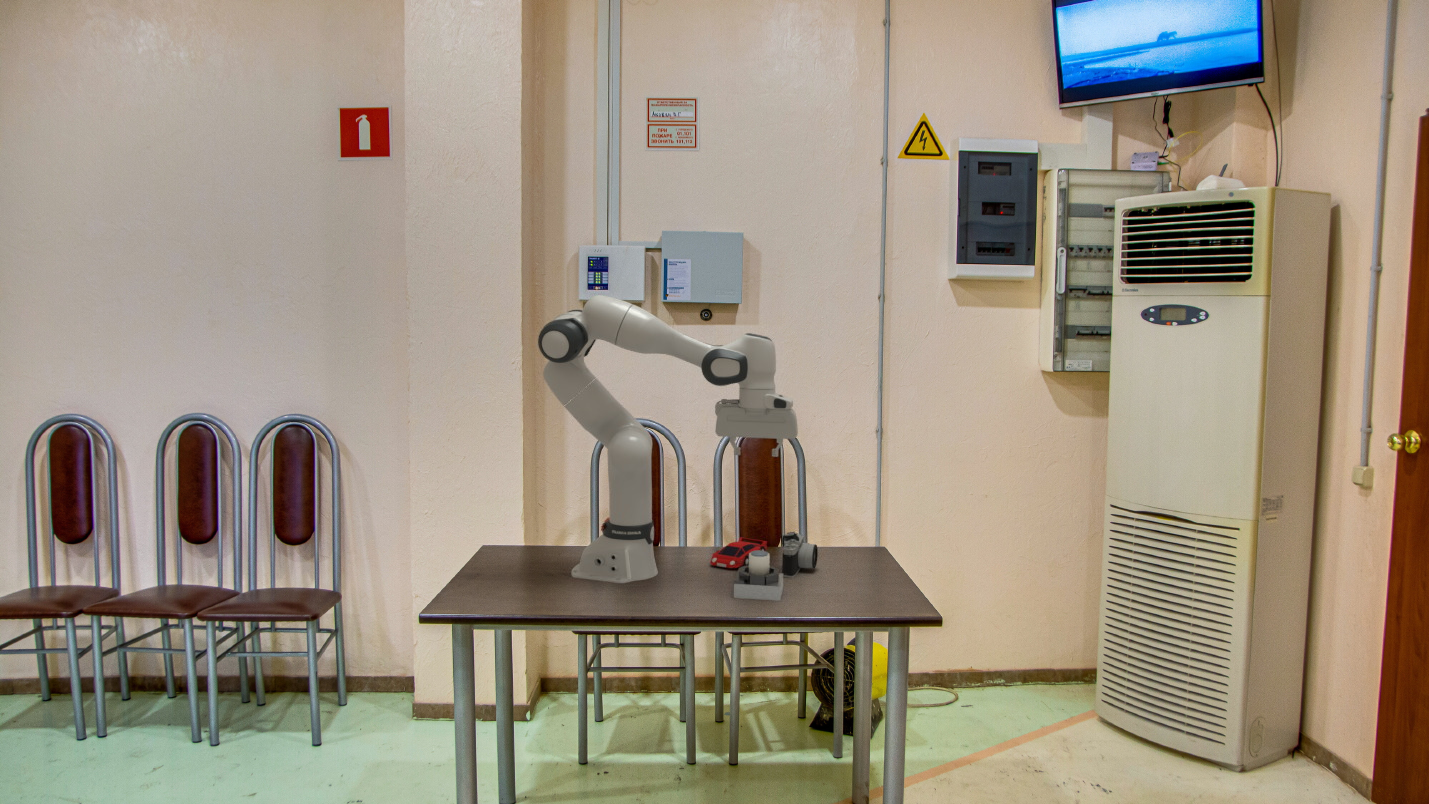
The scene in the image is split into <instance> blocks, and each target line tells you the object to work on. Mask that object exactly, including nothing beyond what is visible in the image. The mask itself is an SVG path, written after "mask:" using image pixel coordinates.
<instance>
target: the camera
mask: <svg viewBox="0 0 1429 804" xmlns="http://www.w3.org/2000/svg"><path fill="white" fill-rule="evenodd" d="M781 541H782V542H781V543H782V548H783V551H782V554H781V555H782V558H781V559H782V560H781V561H782V562H781V565H782V567H781V570H782V571H781V573H783V578H790V579H793V578H795V577H796V576H797V574H798V573H799V571H800V570H801V569H816V567H817V564H818V555H819V552H818V545H817V544H816V543H815V544H813V543H810V542H804V541H805V538H804V536H803V534H802V533H796V531H788V532H786V533H785V535H784V534H783V535H782V540H781Z"/></svg>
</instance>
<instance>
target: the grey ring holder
mask: <svg viewBox="0 0 1429 804" xmlns="http://www.w3.org/2000/svg"><path fill="white" fill-rule="evenodd" d="M783 591H784V577H783V573H782V572H780V569H779V568H777V567H774V566H773V565H770V568H769V574H768V575H751V574H749V565H747V566H743V565H742V566H740V567H738V570H737V573H736V575H735V577H734V580H733V599H741V600H742V599H743V600H756V601H757V600H759V601H761V600H762V601H777V602H781V598H782V594H783Z"/></svg>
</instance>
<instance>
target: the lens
mask: <svg viewBox="0 0 1429 804" xmlns="http://www.w3.org/2000/svg"><path fill="white" fill-rule="evenodd" d="M770 555H771V554H770V553H769V552H768V551H767V550H766V551H762V550H756V551H752V552H751V553H749V574H751V575H768V574H769V568H770V566H771V565H770V560H771V559H770V558H771V557H770Z"/></svg>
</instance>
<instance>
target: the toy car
mask: <svg viewBox="0 0 1429 804" xmlns="http://www.w3.org/2000/svg"><path fill="white" fill-rule="evenodd" d="M767 544H768V541H765V540H761V539H754V538H747V537H739V538H738V541H733V542H730V543H728V544H727V545H726V546H724V547H722V548H721V549H720V550H716V551H715V552H714V553H712V556H711V560H710V561H709V563H710V565H711V566H715V567H720V568H726V569H737V568H738V569H739V568H741V567H743V566H747V565H749V553H751V552H752V551H756V550H762V551H766V552H767V549H768V546H767Z"/></svg>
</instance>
